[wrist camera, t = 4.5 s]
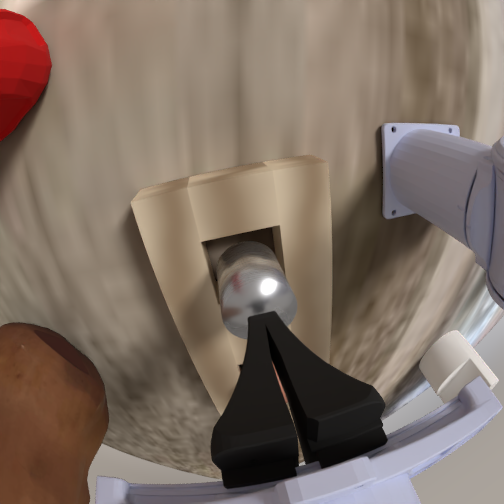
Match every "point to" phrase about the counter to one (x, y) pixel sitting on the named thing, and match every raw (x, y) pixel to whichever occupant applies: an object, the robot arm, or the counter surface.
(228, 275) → the steel plunger
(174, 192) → the socket block
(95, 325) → the counter surface
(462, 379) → the base with upright slab
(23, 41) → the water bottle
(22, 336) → the butternut squash
